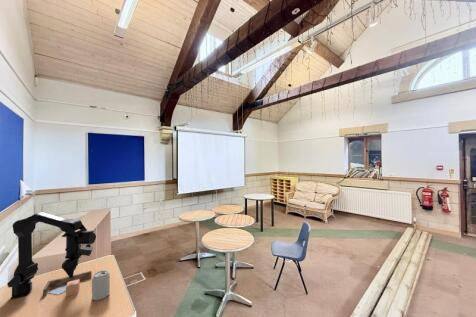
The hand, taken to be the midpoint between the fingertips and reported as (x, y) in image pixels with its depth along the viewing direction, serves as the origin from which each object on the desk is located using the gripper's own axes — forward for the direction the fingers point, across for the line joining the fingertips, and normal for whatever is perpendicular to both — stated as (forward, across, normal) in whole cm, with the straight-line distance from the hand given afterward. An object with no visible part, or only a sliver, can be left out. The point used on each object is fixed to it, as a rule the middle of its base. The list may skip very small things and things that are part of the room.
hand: (72, 273), depth 106 cm
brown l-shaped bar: (+10, +9, +2) cm, 13 cm away
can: (+10, -13, -13) cm, 21 cm away
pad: (+10, +6, +6) cm, 13 cm away
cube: (+10, 0, 0) cm, 10 cm away
